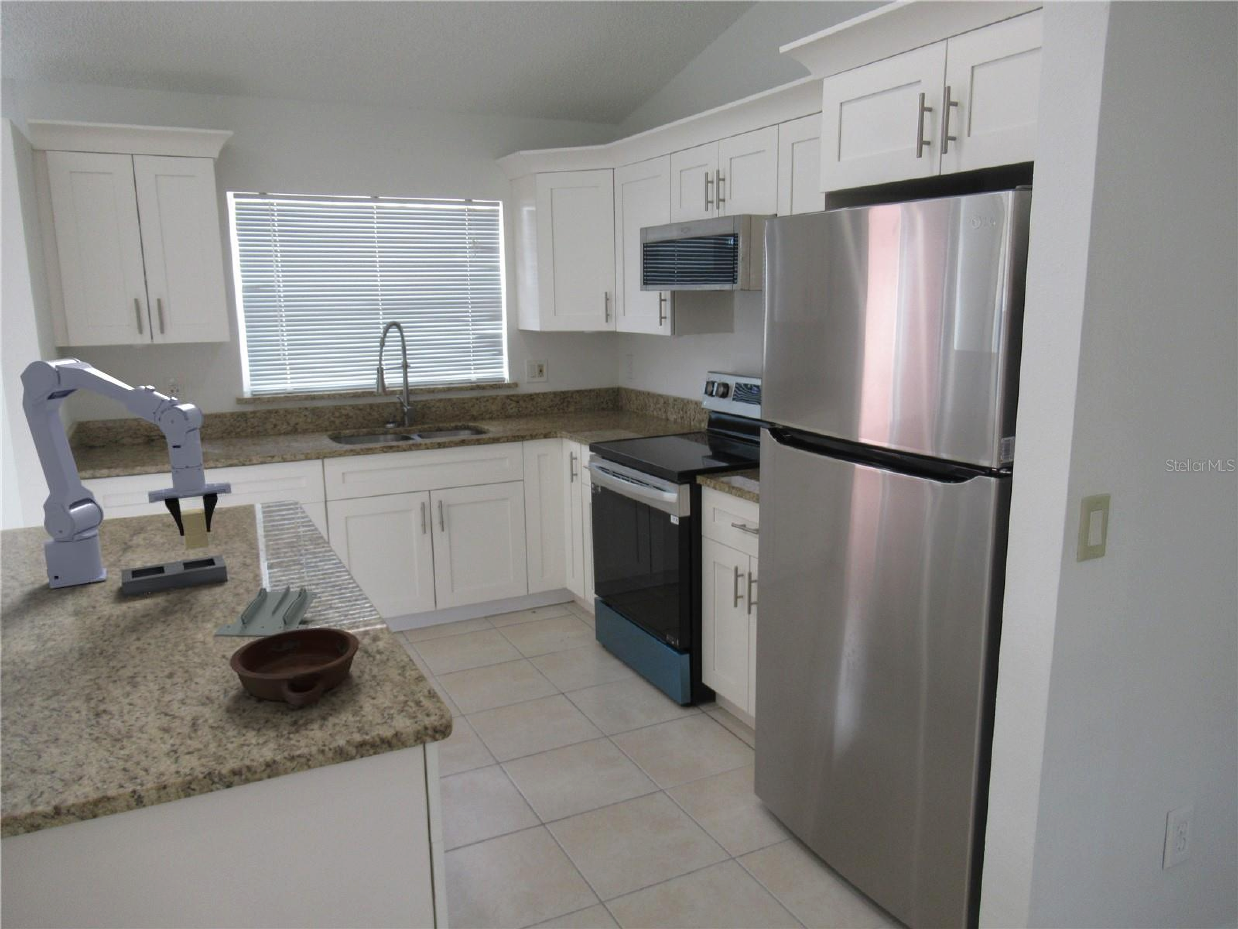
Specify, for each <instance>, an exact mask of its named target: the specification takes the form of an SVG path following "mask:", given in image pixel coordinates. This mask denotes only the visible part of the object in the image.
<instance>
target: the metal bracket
mask: <svg viewBox="0 0 1238 929" xmlns="http://www.w3.org/2000/svg"><path fill="white" fill-rule="evenodd" d="M290 588H291V587H290V585H286V587H285V589H284V590H283V591H267V588H266V587H259V590H258V592H256V594H254V596H253V598H252V599H251V600H250V601H249V603H248V604H247V606H246V607H245V609H244V610H243V611H242V612H241V614H240V616H239V617H238V618H237V620H236V621H235V622H234V623H230V624H229V623H226V624H225V623H223V624H221V625H220V626H219V627H218V628H217V630H216V631H215V633H214V637H223V638H225V637H227V638H229V637H267V636H270V635H274V634H278V633H282V632H287V631H292V630H298V629H308V628H309V625H308V624H300V622H301V621H302V619H303V618H304V616H305V614H306V613H307V611H308V610H309V609H310V606H311V605H312V604H313V602H314V600H315V598H316V597H317V596H318V592H317V591H307V589H306V588H305V587H303V588H302V587H301V588H299V591H291V589H290Z"/></svg>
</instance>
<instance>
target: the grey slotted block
mask: <svg viewBox="0 0 1238 929" xmlns="http://www.w3.org/2000/svg"><path fill="white" fill-rule="evenodd" d="M227 581H228V572H227V565H226V563H225V560H224V558H223V555H222V554H217V555H212V556H205V557H197V558H191V559H186V560H183V559H182V560H179V561H173V562H164V563H158V564H151V565H146V566H140V567H139V566H137V567H133V568H132V567H131V568H124V569H121V588H122V594H123V598H124V597H125V598H129V597H128V596H131V597H136V595H137V596H141V595H140V594H143V595H145V594H144V593H149V592H150V593H149V594H152V593H151V592H155V593H161V592H166V590H167V591H172V590H171V589H173V590H177V589H184V587H185V588H190V587H196V586H195V585H197V586H202V585H207V584H208V583H210V584H214V583H213V582H216V583H221V582H227Z"/></svg>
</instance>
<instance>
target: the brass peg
mask: <svg viewBox="0 0 1238 929" xmlns="http://www.w3.org/2000/svg"><path fill="white" fill-rule="evenodd" d="M181 519H182V524H183V529H184V536H183V539H184V546H185V550H194V549H201V548H207V547H209V546H210V544H209V539H208V538H209V537H208V532H207V528H206V519H205V511H204V507H202V508H201V507H200V508H194V509H185V510H181Z"/></svg>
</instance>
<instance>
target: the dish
mask: <svg viewBox="0 0 1238 929" xmlns="http://www.w3.org/2000/svg"><path fill="white" fill-rule="evenodd" d="M359 644H360V642H359V638H358V637H357V636H356V635H354V634H353V633H351V632H349V631H346V630H344V629H343V630H342V629H341V628H332V627H310V628H309V627H308V628H307V629H298V630H292V631H287V632H282V633H278V634H274V635H270V636H267V637H266V636H263V637H262V638H257V639H255V640H253V641H250V642H248V643H246V644H245V645H243V646H242V647H240V648H239V649H237V650H236V651H235V652H234V653H233V654H232V655H231V658H230V661H229V666H230V668H231V669H232V671H233V672H235V673H236V674H237V676H238V679H239V680H240V684H241V685H242V687H243V688H244V690H245V691H246V692H247V693H249V694H252V695H253V696H255V697H258V698H260V699H264V700H269V701H280V702H281V701H286V702H288V703H289V704H290V705H293V706H299V707H301V706H306V705H309V704H312V703H314V702H316V701H317V700H318V699H320V698H321V696H322V693H324V692H326V691H329V690H331V689H332V688H335V687H337V686H338V685H339V684H340V683H342V682H343V681H344V679H345V678H346V677H347V676H348V674H349V672H350V670H351V667H352V665H353V661H354V657H355V656H356V653H357V652H358V650H359Z"/></svg>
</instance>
